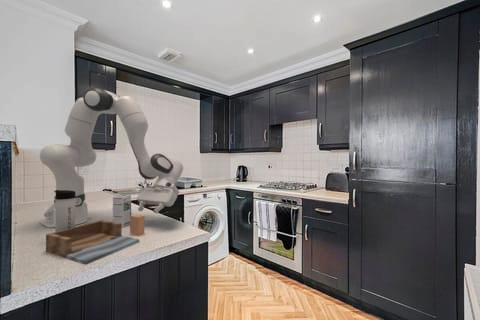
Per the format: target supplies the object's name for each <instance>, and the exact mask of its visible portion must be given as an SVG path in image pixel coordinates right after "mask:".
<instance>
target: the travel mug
mask: <svg viewBox="0 0 480 320" xmlns="http://www.w3.org/2000/svg"><path fill="white" fill-rule="evenodd" d="M53 192H54V193H55V196H56V199H55V200H56V201H55V227H54V228H55V229H54V230H55V231H54V232H58V231H61V230H65V229H69V228H73V227H76V225H75V203H76V200H75V191H69V190H56V189H55V190H53Z"/></svg>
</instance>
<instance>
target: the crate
mask: <svg viewBox="0 0 480 320" xmlns="http://www.w3.org/2000/svg"><path fill="white" fill-rule="evenodd" d="M122 228H123V227H122V223H116V222H113V221H109V220H104V219H100V220H97V221H93V222H90V223H89V222H88V223H86V224H85V223H84V224H81V225H78V226H75V227H73V228H69V229H65V230H61V231H58V232H55V231H53V232H51V233H50V232H49V233H46V234H45V253H49V254H51V255H52V254H53V255H55V256H58V257H62V258H65V259H67V260H71V261H74V262H78V263H80V264H82V265H83V264H84V265H88V264H90V263H92V262H95V261H97V260H99V259H102V258H105V257H107V256H110V255H111V254H114V253H117V252H118V251H121V250H124V249H126V248H129V247H132V246H133V245H136V244H138V243H140V239H139V238H134V237H128V236H125V235H122V232H123V231H122Z"/></svg>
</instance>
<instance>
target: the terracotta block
mask: <svg viewBox="0 0 480 320" xmlns="http://www.w3.org/2000/svg"><path fill="white" fill-rule="evenodd" d="M129 228H130V229H129V235H130V236H135V237H140V236H144V235H145V215H144V214H131V216H130V224H129Z"/></svg>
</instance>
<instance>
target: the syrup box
mask: <svg viewBox="0 0 480 320" xmlns="http://www.w3.org/2000/svg"><path fill="white" fill-rule="evenodd" d="M130 216H132V195H131V194H120V195H116V196H112V222H116V223H122V228H125V227H127V226H130Z"/></svg>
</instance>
